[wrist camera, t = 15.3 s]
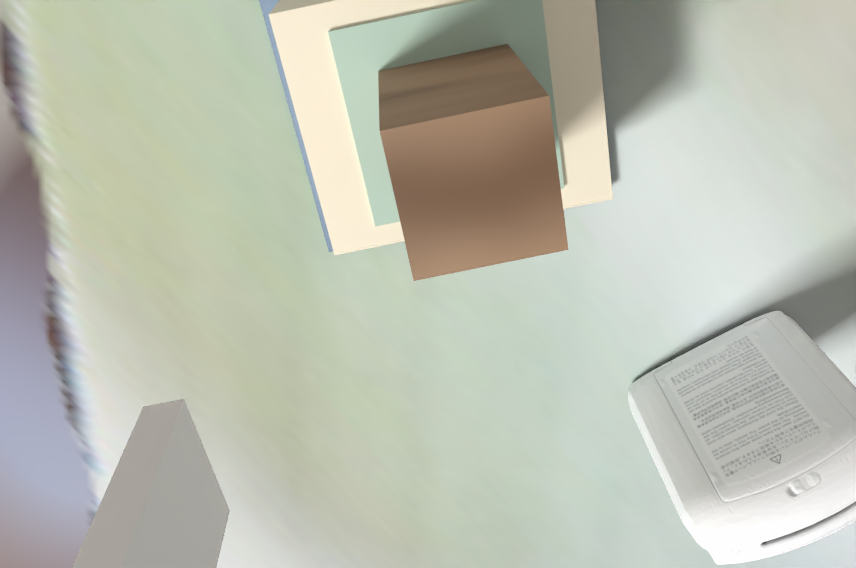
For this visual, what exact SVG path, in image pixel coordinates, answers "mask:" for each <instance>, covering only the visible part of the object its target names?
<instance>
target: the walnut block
mask: <svg viewBox="0 0 856 568" xmlns="http://www.w3.org/2000/svg"><path fill="white" fill-rule="evenodd" d="M378 88H379V129H380V135H381V140H382V144H383V148H384V153H385V157H386V161H387V166H388V170H389V174H390V179H391V183H392V188H393V192H394V196H395V201H396V205H397V209H398V214H399V218H400V222H401V227H402V231H403V235H404V240H405V244H406V249H407V253H408V257H409V262H410V266H411V270H412V275H413V279H414V281H415V280H420V279H425V278H430V277H435V276H440V275H445V274H450V273H455V272H460V271H465V270H470V269H475V268H480V267H485V266H489V265H494V264H499V263H504V262H509V261H514V260H519V259H524V258H529V257H534V256H539V255H544V254H549V253H554V252H559V251H564V250H568V244H567V236H566V227H565V219H564V211H563V203H562V195H561V187H560V179H559V171H558V163H557V155H556V147H555V138H554V130H553V122H552V114H551V106H550V98H549V95H548V93H547V92H546V91H545V90H544V89H543V87H542V86H541V85H540V84H539V82H538V81H537V80H536V79H535V77H534V76H533V75H532V74H531V72H530V71H529V70H528V69H527V67H526V66H525V65H524V64H523V62H522V61H521V60H520V59H519V57H518V56H517V55H516V54H515V52H514V51H513V50H512V49H511V47H510V46H509V45H508V44H503V45H499V46H494V47H489V48H485V49H480V50H475V51H470V52H466V53H461V54H456V55H451V56H447V57H442V58H437V59H433V60H428V61H423V62H418V63H414V64H409V65H404V66H400V67H395V68H390V69H385V70H381V71H378Z"/></svg>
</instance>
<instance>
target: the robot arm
mask: <svg viewBox="0 0 856 568" xmlns="http://www.w3.org/2000/svg"><path fill="white" fill-rule="evenodd" d="M229 511H230V510H229V508H228V505H227V503H226V501H225V498H224V496H223V493H222V491H221V488H220V486H219V483H218V481H217V479H216V476H215V474H214V471H213V469H212V466H211V464H210V461H209V459H208V457H207V454H206V452H205V449H204V447H203V444H202V442H201V439H200V437H199V435H198V432H197V430H196V427H195V425H194V422H193V420H192V418H191V415H190V413H189V410H188V408H187V405H186V403H185V400H184V399H181V400H176V401H171V402H166V403H160V404H155V405H150V406H145V407H143V409H142V411H141V413H140V416H139V418H138V420H137V422H136V425H135V427H134V429H133V431H132V434H131V436H130V438H129V440H128V443H127V445H126V447H125V449H124V452H123V454H122V456H121V458H120V461H119V463H118V465H117V467H116V470H115V472H114V474H113V476H112V479H111V481H110V483H109V485H108V488H107V490H106V492H105V494H104V497H103V499H102V501H101V503H100V506H99V508H98V510H97V512H96V515H95V517H94V519H93V522H92V524H91V526H90V528H89V531H88V533H87V535H86V538H85V540H84V542H83V544H82V546H81V549H80V551H79V553H78V555H77V558H76V560H75V562H74V565H73V567H72V568H216V566H217V562H218V558H219V553H220V549H221V545H222V541H223V536H224V532H225V528H226V523H227V519H228V515H229Z"/></svg>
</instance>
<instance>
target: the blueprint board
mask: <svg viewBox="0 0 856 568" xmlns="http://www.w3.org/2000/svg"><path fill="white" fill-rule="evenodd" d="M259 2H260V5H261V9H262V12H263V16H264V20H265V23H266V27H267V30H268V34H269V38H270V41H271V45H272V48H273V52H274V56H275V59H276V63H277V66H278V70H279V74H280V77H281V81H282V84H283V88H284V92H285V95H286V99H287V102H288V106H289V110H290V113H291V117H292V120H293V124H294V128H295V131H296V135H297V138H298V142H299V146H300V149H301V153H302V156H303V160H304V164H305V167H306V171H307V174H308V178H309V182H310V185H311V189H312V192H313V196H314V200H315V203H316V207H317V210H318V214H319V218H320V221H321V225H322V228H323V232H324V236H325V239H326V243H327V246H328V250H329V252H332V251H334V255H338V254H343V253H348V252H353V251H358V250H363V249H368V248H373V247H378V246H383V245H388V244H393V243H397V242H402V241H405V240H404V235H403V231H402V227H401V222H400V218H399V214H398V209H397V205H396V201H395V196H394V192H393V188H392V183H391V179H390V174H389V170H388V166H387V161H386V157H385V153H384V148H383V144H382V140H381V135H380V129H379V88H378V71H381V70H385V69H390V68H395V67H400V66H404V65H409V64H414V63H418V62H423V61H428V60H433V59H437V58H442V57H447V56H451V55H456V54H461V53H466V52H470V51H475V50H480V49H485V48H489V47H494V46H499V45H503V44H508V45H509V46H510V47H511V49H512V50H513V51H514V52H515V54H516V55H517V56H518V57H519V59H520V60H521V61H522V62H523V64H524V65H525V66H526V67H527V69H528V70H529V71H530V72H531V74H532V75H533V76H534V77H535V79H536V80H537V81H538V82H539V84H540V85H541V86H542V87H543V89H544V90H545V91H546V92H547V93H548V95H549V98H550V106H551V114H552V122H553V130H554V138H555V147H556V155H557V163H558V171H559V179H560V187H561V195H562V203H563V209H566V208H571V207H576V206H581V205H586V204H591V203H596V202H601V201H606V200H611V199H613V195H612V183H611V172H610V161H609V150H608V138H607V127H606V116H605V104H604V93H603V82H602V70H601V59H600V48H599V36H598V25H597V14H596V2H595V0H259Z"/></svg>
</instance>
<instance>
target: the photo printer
mask: <svg viewBox="0 0 856 568" xmlns="http://www.w3.org/2000/svg"><path fill="white" fill-rule="evenodd" d="M628 402H629V407H630V409H631V412H632V414H633V416H634V418H635V420H636V423H637V425H638V427H639V429H640V431H641V434H642V436H643V438H644V440H645V442H646V445H647V447H648V449H649V451H650V453H651V456H652V458H653V460H654V462H655V464H656V466H657V468H658V471H659V473H660V475H661V477H662V479H663V482H664V484H665V486H666V488H667V490H668V492H669V495H670V497H671V499H672V501H673V503H674V505H675V508H676V510H677V512H678V514H679V516H680V518H681V520H682V522H683V524H684V525H685V527H686V528H687V529H688V531H689V532H690V533H691V534H692V536H693V537H694V539H695V540H696V542H697V543H698V544H699V545H700V546H701V547H703V548H704V549H706V550H708V551H709V553H710V554H711V556H712V558H713V559H714V561H715V563H716V564H717V565H722V564H736V563H743V562H749V561H754V560H759V559H763V558H768V557H772V556H775V555H779V554H782V553H785V552H788V551H791V550H794V549H797V548H800V547H802V546H805V545H808V544H810V543H812V542H815V541H817V540H820V539H822V538H824V537H826V536H828V535H831V534H833V533H835V532H837V531H839V530H840V529H842V528H844V527H846V526H848V525H850V524H851V523H853V522H855V521H856V387H855V386H854V385H853V384H852V383H851V382H850V381H849V380H848V378H847V377H846V376H845V375H844V374H843V373H842V372H841V371H840V370H839V369H838V367H837V366H836V365H835V364H834V363H833V362H832V361H831V360H830V359H829V358H828V357H827V355H826V354H825V353H824V352H823V351H822V350H821V349H820V348H819V347H818V346H817V345H816V343H815V342H814V341H813V340H812V339H811V338H810V337H809V336H808V335H807V334H806V332H805V331H804V330H803V329H802V328H801V327H800V326H799V325H798V324H797V323H796V322H795V321H794V320H793V319H792V318H791V317H789V316H787V315H785V314H784V313H783V312H781V311H772V312H769V313H766V314H764V315H761V316H758V317H756V318H754V319H752V320H749V321H747V322H745V323H744V324H741V325H739V326H737V327H735V328H733V329H731V330H729V331H727V332H725V333H723V334H721V335H719V336H717V337H715V338H713V339H711V340H709V341H708V342H706V343H704V344H702V345H700V346H698V347H696V348H694V349H692V350H690V351H688V352H686V353H685V354H683V355H681V356H679V357H677V358H675V359H673V360H671V361H669V362H667V363H665V364H663V365H662V366H660V367H658V368H656V369H654V370H652V371H651V372H649V373H647V374H646V375H644V376H642V377H641V378H639V379H638V380H636V381H635V382H634V383H632V384H631V385H630V387H629V396H628Z"/></svg>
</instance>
